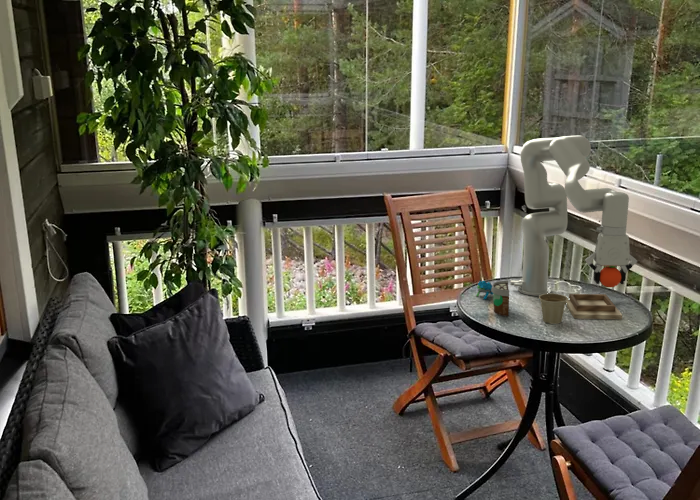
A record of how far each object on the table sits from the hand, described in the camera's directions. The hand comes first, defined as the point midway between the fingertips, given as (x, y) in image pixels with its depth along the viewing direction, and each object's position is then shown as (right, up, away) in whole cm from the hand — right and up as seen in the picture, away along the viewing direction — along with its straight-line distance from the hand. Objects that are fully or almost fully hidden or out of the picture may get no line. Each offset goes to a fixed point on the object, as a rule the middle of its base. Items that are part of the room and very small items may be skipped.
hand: (609, 282), depth 206 cm
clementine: (0, -2, 0) cm, 2 cm away
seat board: (+2, -11, +20) cm, 23 cm away
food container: (-31, -12, +21) cm, 39 cm away
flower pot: (-16, -14, +10) cm, 23 cm away
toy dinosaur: (-32, -8, +36) cm, 49 cm away
